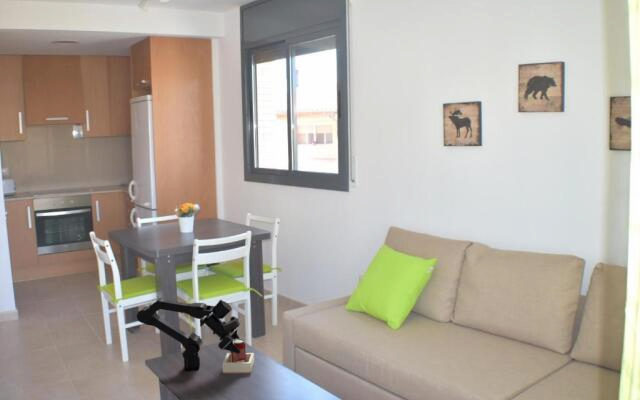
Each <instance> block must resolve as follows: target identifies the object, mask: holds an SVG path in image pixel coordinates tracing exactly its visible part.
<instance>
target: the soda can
mask: <svg viewBox="0 0 640 400" xmlns="http://www.w3.org/2000/svg"><path fill="white" fill-rule="evenodd" d="M233 342H234V344H235V345H236V346H237V348H238V349H239V350H240V351H241V352H240V353H239V354H238V353H235V352H232V351H229V353H231V362H246V353H247V352H246V349H247V348H246V342H245V339H243V338H240V339H234V340H233Z"/></svg>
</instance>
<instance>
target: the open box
mask: <svg viewBox="0 0 640 400" xmlns="http://www.w3.org/2000/svg"><path fill="white" fill-rule="evenodd" d="M254 365H255V353H254V352H246V362H231V352H227V353H226V355H225V358H224V359H223V362H222V374H251V373H252V372H253V368H254Z"/></svg>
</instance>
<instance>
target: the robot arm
mask: <svg viewBox="0 0 640 400" xmlns="http://www.w3.org/2000/svg"><path fill="white" fill-rule="evenodd" d="M159 310H164V311H170V312H175V313H182V314H186V315H187V316H190V317H191V318H195V319H197V320H199V326H200V327H202V326H204V325H206V326H207V327H208V328H209V329H210V330H211V331H212V334H213V335H214V336H215V335H216V336H217V337H218V338H219V342H218V345H217V346H218V348H219V349H220V350H223V351H224V350H226V351H229V352H230V351H232V352H235V353H238V354H239V353H240V352H241V351H240V350H239V349H238V348H237V346H236V345H235V344H234V342H233V340H234V339H241V337H240V336H239V333H238V331H239V327H240V325H241V323H240V321H239V318H238V317H236V316H234V315H233V316H231V317H230V319H229V320H228V321H224V320H222V319H225V317H226V316H228V314H230V312H231V311H232V310H233V309H232V307H231V305H230V304H229V303H228V302H226V301H224V300H222V299H219V300H218V302H217V303H216V305H210V304H206V303H205V302H191V303H187V302H181V301H176V300H169V299H165V298H158V299H157V300H156V301H155V302H153V303H152V304H150V305H147V306H146V305H145V306H144V307H142V308H140V310H139V311H138V312H137V313H136V319H137V321H138V322H140V323H141V324H144V325H146V326H152V327H154V328H155V329H158V330H159V331H161V332H163V333H164V334H165V335H167V336H169V337H170V338H172V339H174V340H175V341H177V342H179V343H180V344H181V346H182V347H183V349H184V350H183V352H182V354H181V355H182V357H183V371H184V372H187V371H197V370H199V369H200V367H201V361H200V356H199V352H200V350H201V349H202V347H203V345H204V341H203V339H202V338H201V336H200V335H197V334H196V333H195V332H191V333H190V334H188V333H186V332H184V331H182V330H181V329H180V328H178V327H177V326H174V325H173V324H171V323H170V322H168V321H167V320H165V319H163V318H162V317H160V315H159V314H158V311H159Z"/></svg>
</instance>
